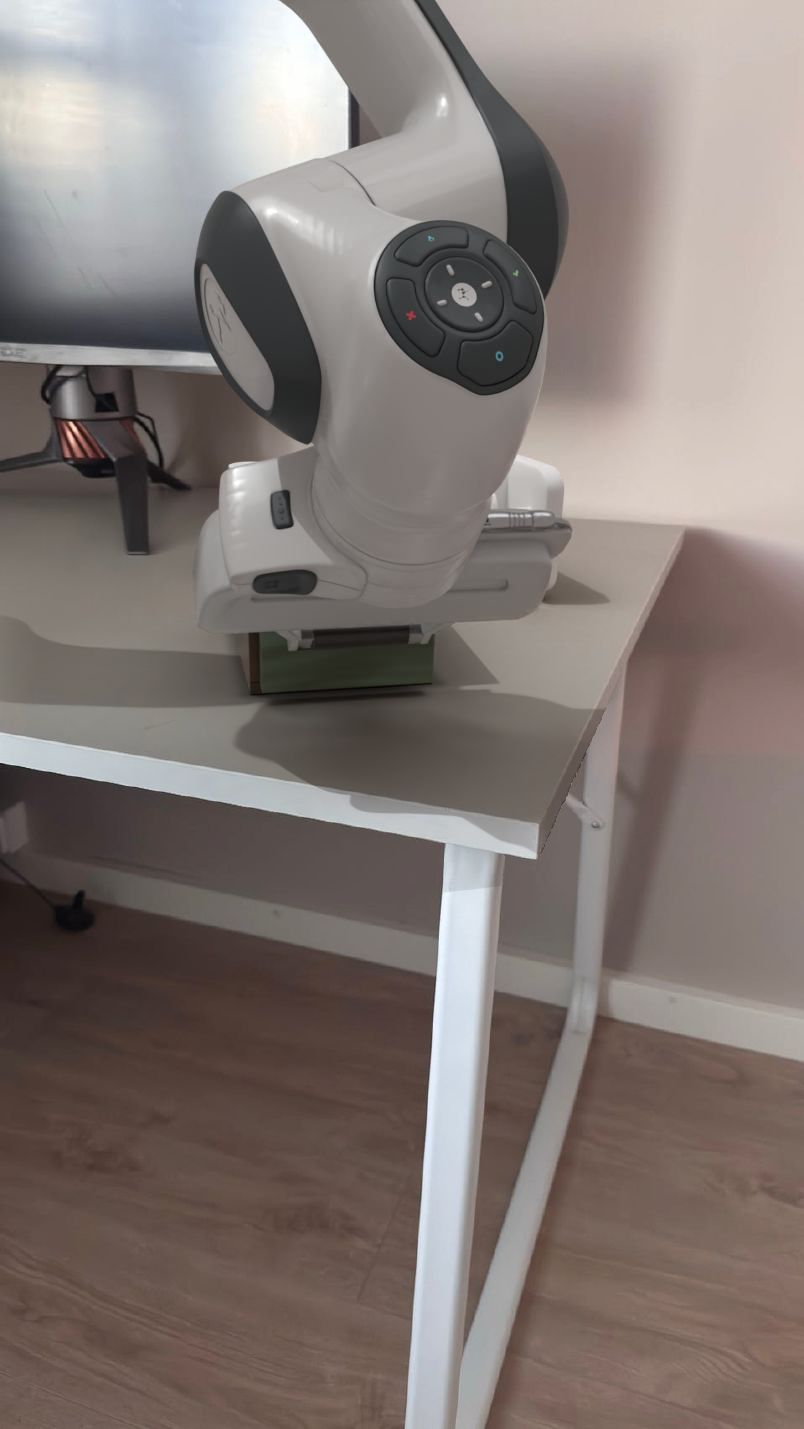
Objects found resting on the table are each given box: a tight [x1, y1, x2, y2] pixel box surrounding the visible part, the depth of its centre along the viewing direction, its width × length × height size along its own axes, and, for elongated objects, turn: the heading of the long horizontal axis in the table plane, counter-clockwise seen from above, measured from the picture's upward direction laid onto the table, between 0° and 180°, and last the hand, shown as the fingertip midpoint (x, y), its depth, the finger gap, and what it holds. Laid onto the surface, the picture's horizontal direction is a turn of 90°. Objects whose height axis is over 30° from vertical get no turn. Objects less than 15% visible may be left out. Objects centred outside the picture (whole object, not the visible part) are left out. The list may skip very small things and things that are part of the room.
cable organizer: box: [491, 453, 565, 591], centre depth 96 cm, size 15×11×12 cm
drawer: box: [259, 625, 436, 694], centre depth 74 cm, size 18×12×8 cm, turn 13°
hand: (355, 637), depth 68 cm, fingers closed on drawer, 6 cm apart
